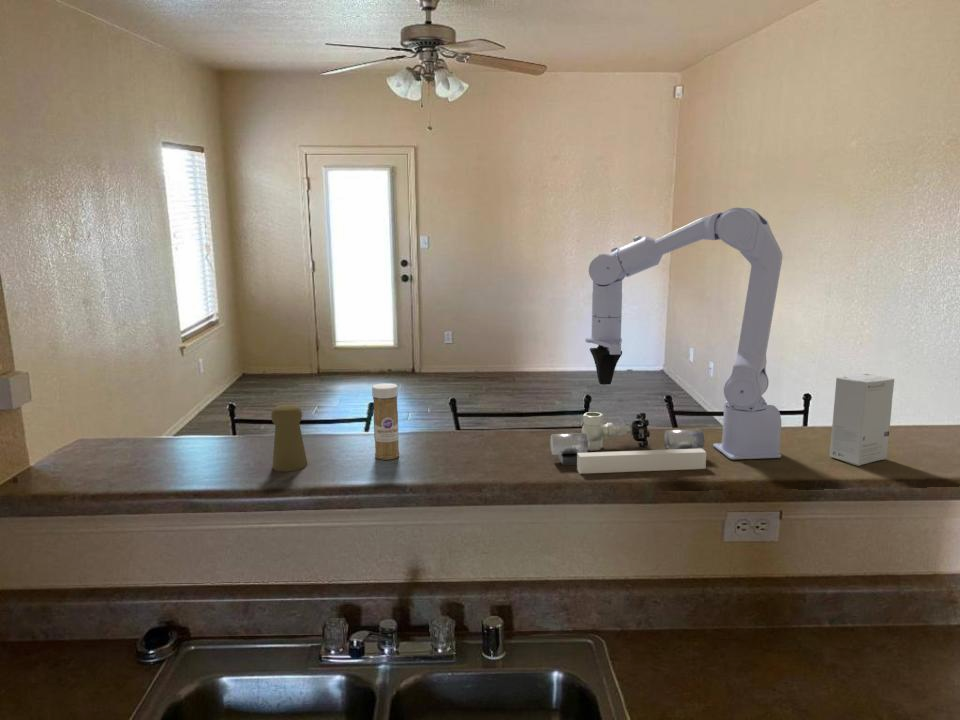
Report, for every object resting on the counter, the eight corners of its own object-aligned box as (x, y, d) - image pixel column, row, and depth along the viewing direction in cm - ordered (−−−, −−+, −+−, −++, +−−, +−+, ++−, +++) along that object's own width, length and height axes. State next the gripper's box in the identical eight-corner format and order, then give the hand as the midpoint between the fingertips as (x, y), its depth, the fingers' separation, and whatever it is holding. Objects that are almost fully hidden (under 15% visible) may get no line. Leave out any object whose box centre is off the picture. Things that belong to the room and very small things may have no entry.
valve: (585, 453, 128) (649, 452, 129) (585, 419, 127) (650, 417, 128) (578, 442, 135) (639, 441, 135) (578, 409, 133) (640, 408, 134)
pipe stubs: (694, 452, 128) (696, 426, 127) (704, 460, 124) (705, 433, 123) (549, 457, 126) (550, 430, 125) (554, 465, 122) (554, 438, 121)
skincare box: (858, 467, 120) (866, 383, 117) (827, 457, 125) (834, 376, 122) (888, 459, 123) (897, 377, 121) (856, 449, 129) (864, 371, 126)
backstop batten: (700, 464, 121) (701, 448, 121) (705, 468, 119) (706, 452, 119) (576, 469, 120) (577, 452, 119) (579, 473, 118) (579, 456, 117)
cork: (313, 461, 125) (310, 402, 123) (296, 472, 120) (292, 411, 118) (284, 458, 127) (280, 400, 125) (265, 469, 121) (261, 409, 119)
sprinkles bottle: (380, 462, 124) (377, 389, 122) (371, 455, 128) (367, 384, 126) (404, 457, 127) (401, 386, 124) (393, 451, 131) (391, 381, 128)
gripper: (578, 311, 143) (577, 376, 145) (595, 321, 129) (593, 392, 131) (612, 311, 143) (610, 375, 146) (632, 320, 129) (630, 391, 132)
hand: (604, 383), depth 139 cm, fingers closed
